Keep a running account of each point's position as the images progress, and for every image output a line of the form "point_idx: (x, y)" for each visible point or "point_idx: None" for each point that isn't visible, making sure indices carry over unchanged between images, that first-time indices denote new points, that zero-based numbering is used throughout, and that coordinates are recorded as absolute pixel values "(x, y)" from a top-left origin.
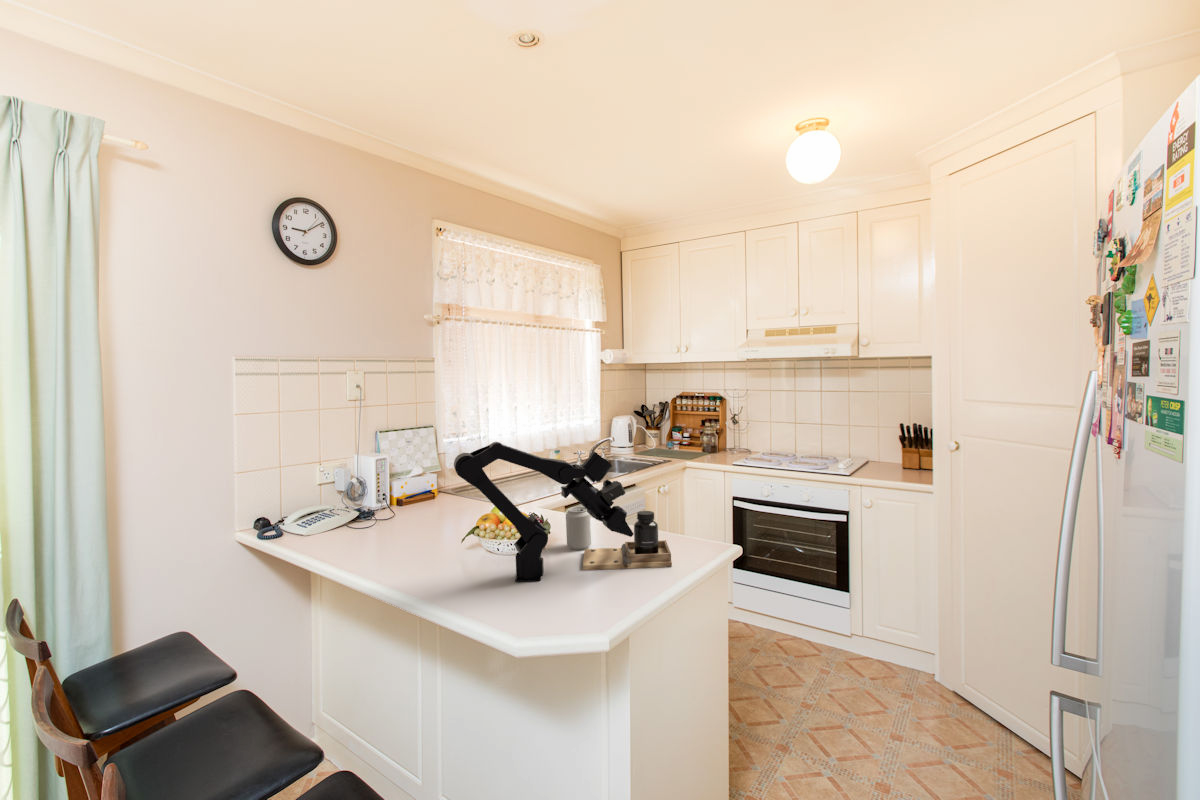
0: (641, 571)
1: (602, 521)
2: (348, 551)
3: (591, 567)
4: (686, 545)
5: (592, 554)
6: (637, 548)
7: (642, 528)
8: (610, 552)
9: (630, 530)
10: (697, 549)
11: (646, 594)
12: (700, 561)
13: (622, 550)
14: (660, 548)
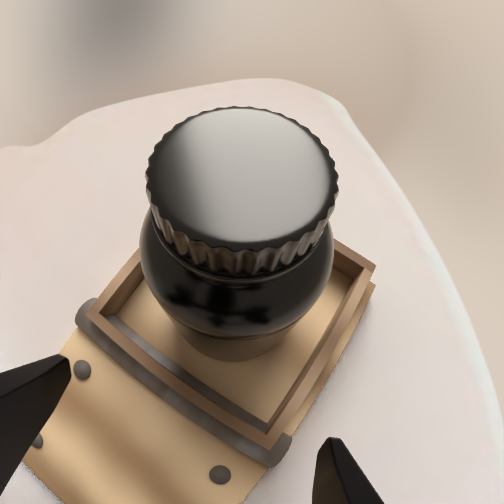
0: (342, 417)
1: (2, 488)
2: None
3: None
4: None
5: (69, 474)
6: (239, 358)
7: (299, 315)
8: (93, 408)
9: (361, 477)
10: None
11: (478, 475)
12: (369, 189)
13: (129, 371)
14: None
